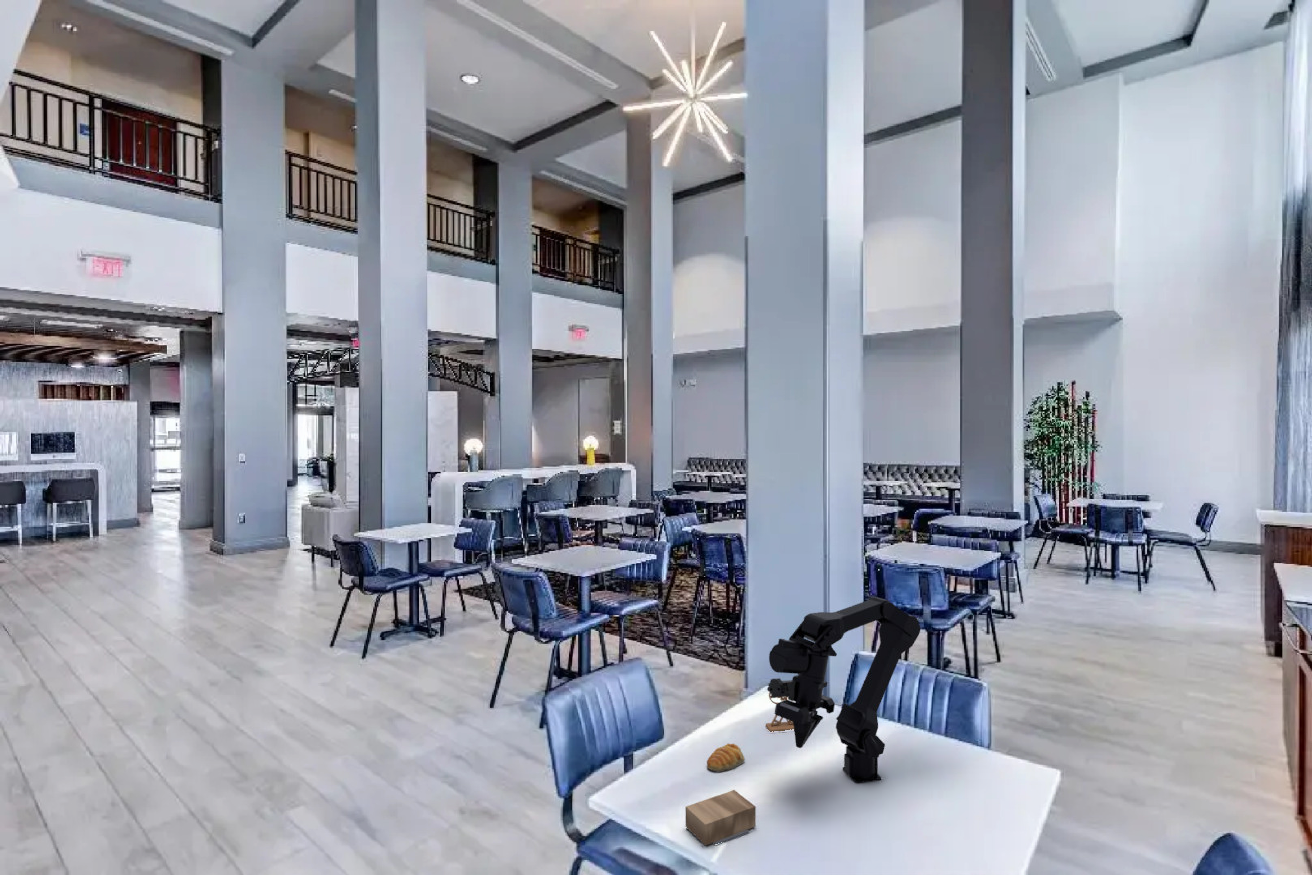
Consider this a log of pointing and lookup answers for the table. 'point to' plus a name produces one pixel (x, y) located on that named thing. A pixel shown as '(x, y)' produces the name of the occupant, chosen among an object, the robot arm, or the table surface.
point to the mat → (732, 837)
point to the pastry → (725, 758)
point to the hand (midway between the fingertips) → (798, 747)
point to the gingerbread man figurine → (779, 725)
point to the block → (720, 817)
